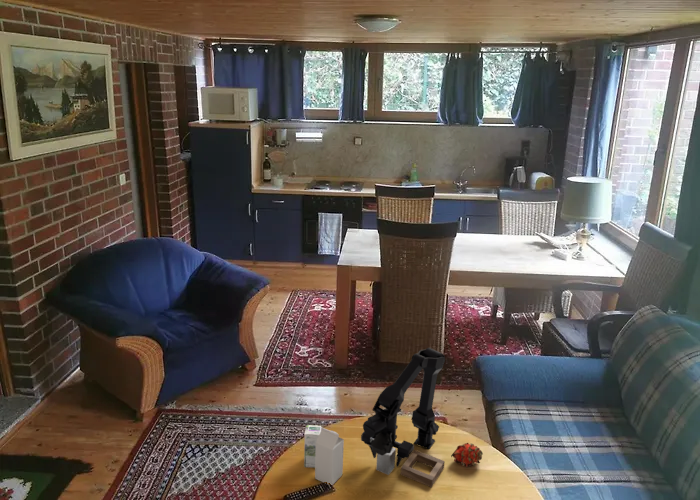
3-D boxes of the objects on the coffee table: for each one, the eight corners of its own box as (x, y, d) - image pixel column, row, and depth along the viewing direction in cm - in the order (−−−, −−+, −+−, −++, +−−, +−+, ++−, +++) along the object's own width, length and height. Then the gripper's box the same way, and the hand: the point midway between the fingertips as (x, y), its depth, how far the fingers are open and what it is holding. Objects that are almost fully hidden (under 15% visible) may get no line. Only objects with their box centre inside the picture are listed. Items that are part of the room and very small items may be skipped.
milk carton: (331, 486, 191) (332, 439, 186) (314, 478, 195) (315, 432, 189) (342, 475, 197) (344, 429, 192) (326, 467, 201) (327, 422, 195)
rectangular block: (382, 462, 204) (383, 444, 202) (394, 467, 202) (395, 448, 200) (376, 470, 200) (377, 451, 198) (388, 475, 198) (389, 456, 196)
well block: (414, 456, 208) (414, 449, 207) (444, 467, 203) (444, 461, 202) (400, 474, 198) (400, 467, 197) (431, 487, 193) (432, 480, 192)
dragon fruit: (484, 468, 206) (452, 472, 206) (478, 445, 211) (447, 448, 211) (487, 461, 199) (454, 465, 199) (481, 438, 204) (449, 441, 204)
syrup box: (320, 458, 205) (321, 424, 201) (319, 468, 200) (320, 434, 196) (305, 457, 206) (306, 423, 201) (303, 468, 200) (304, 433, 196)
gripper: (354, 427, 194) (352, 465, 198) (402, 445, 185) (399, 484, 189) (369, 412, 203) (367, 448, 207) (415, 429, 194) (412, 466, 199)
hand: (385, 461), depth 200 cm, fingers open, 9 cm apart
